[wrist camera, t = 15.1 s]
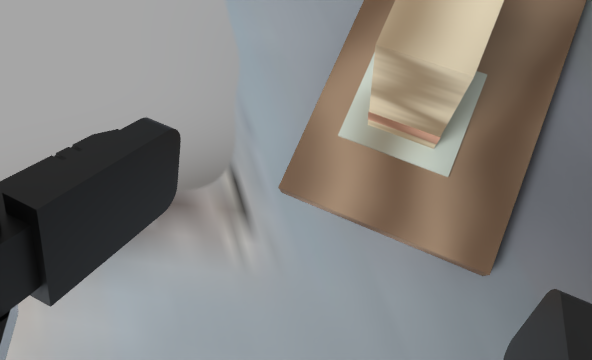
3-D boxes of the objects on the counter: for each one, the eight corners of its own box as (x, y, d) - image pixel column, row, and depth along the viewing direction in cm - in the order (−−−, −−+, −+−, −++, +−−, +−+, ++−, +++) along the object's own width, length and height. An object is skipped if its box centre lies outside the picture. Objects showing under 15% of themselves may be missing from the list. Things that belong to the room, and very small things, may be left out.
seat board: (580, -1, 32) (592, -17, 31) (482, 276, 29) (490, 274, 27) (393, -53, 35) (395, -70, 34) (281, 192, 32) (277, 186, 30)
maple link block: (458, 88, 30) (508, -10, 20) (433, 149, 29) (474, 77, 20) (392, 66, 31) (411, -38, 21) (367, 124, 30) (374, 44, 21)
